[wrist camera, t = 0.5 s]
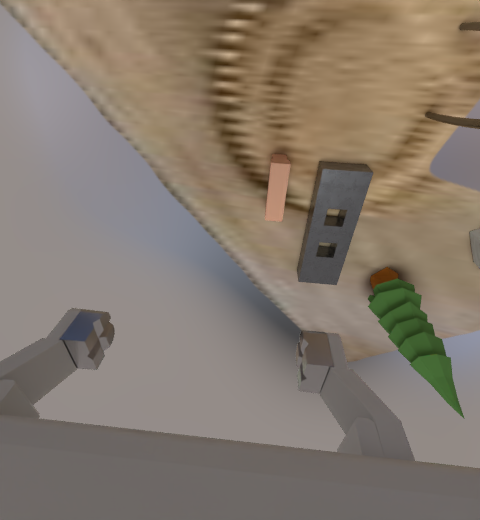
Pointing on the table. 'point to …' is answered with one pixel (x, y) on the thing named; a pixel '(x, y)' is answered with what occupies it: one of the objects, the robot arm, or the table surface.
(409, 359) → the decorative tree
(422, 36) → the table surface
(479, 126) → the juicer
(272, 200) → the brown block
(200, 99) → the table surface
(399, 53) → the table surface
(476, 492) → the robot arm
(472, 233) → the skincare box
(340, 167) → the grey metal flat block
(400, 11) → the table surface
